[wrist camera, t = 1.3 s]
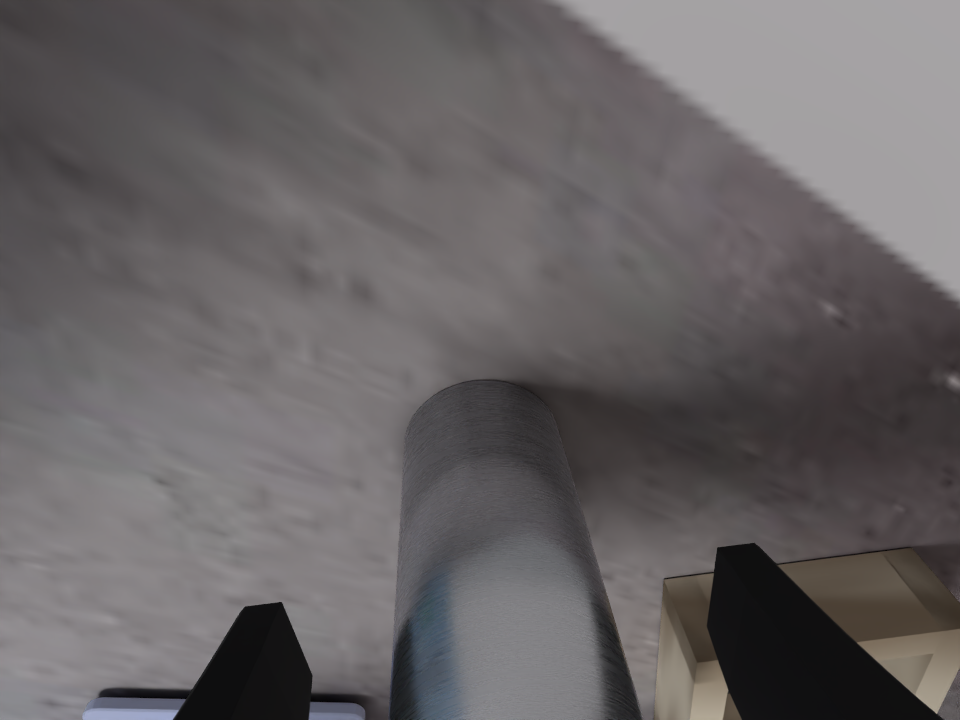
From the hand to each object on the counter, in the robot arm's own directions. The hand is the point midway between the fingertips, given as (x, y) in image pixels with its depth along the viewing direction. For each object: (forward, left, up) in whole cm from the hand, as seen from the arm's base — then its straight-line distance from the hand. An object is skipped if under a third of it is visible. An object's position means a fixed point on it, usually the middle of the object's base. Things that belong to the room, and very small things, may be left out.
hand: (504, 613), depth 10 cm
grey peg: (0, 0, -5) cm, 5 cm away
